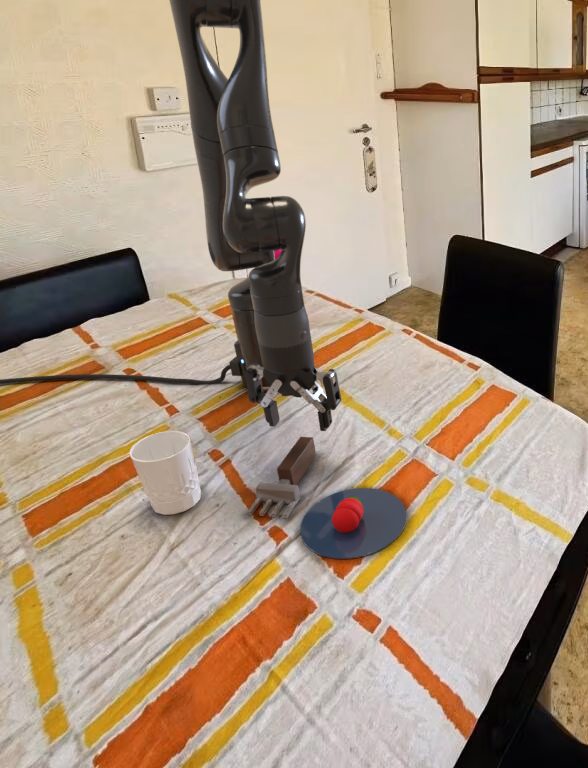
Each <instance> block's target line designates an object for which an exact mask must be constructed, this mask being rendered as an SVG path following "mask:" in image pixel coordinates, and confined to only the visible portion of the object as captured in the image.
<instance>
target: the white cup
mask: <svg viewBox="0 0 588 768" xmlns="http://www.w3.org/2000/svg"><path fill="white" fill-rule="evenodd" d="M129 457H130V460H131V462H132V465H133V467H134V469H135V472H136V474H137V476H138V479H139V481H140V484H141V487H142V489H143V491H144V493H145V495H146V497H147V499H148V500H149V501H148V502H149V503H150V506H151V508H152V509H153V511H154V512H155V513H156V514H160V515H163V516H167V515H177V514H180V513H183V512H185V511H188V510H189V509H191V508H193V507H194V506H196V505H197V504H198V502H199V501H200V500H201V496H202V490H201V485H200V481H199V479H200V477H199V473H198V468H197V463H196V458H195V453H194V449H193V444H192V440H191V436H190V435H189V434H188V433H186V432H184V431H181V430H165V431H160V432H156V433H153V434H149V435H147V436H145V437H143V438H141V439H139V440H138V441H136V442H135V443H134V444H133V445H132V446H131V447H130V449H129Z"/></svg>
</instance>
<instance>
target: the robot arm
mask: <svg viewBox="0 0 588 768" xmlns="http://www.w3.org/2000/svg"><path fill="white" fill-rule="evenodd" d="M168 1H169V5H170V9H171V14H172V18H173V23H174V28H175V33H176V37H177V42H178V47H179V52H180V58H181V61H182V66H183V73H184V78H185V79H184V80H185V86H186V94H187V102H188V111H189V120H190V127H191V128H190V129H191V134H192V140H193V147H194V152H195V157H196V163H197V167H198V172H199V177H200V184H201V188H202V196H203V207H204V208H203V209H204V222H205V235H206V243H207V248H208V253H209V256H210V259H211V261H212V263H213V265H214V266H215V268H216V269H217V270H219V271H221V272H236V271H243V270H249V269H251V270H250V271H249V272H248V275H247V277H246V278H244V279H243V280H241V281H240V282H237V283H236V284H234V285H233V286H232V287H230V289H229V290H228V292H227V297H228V302H229V307H230V312H231V316H232V321H233V325H234V329H235V334H236V339H237V340H236V341H235V342H234V343H233V348H234V351H235V357H234V358H232V359H231V360H230V361H229V362H228V365H226V366H224V368H223V369H222V370H221V372H220V376H219V377H218V378H216V379H211V380H199V379H193V378H192V379H191V378H175V377H174V378H173V377H162V376H152V375H151V376H150V375H137V374H136V375H135V374H134V375H133V374H106V373H103V374H102V373H99V374H98V373H93V374H91V373H89V374H88V373H87V374H86V373H85V374H83V373H82V374H59V375H58V374H57V375H56V374H55V375H39V376H26V377H25V376H24V377H14V378H1V379H0V385H4V384H16V383H27V382H41V381H43V382H45V381H57V380H59V381H61V380H93V379H95V380H103V379H104V380H128V381H129V380H130V381H131V380H132V381H146V382H147V381H148V382H160V383H169V384H170V383H171V384H187V385H188V384H190V385H196V386H197V385H198V386H199V385H201V386H202V385H203V386H204V385H217V384H220V383H221V382H223V381H224V380H225V379H226V376H227V372H229V371H230V372H231V376H233V377H240V379H241V383H242V386H243V387H245V388H246V390H247V396H248V401H249V402H250V403H252V404H255V403H258V404H260V407H262V408H263V413H264V418H265V422H266V423H267V424H268V425H269V427H273V428H274V427H277V425H278V424H279V423H280V420H281V419H280V413H279V408H278V407H279V406H278V403H277V400H274V399H275V398H276V397H277V395H278V394H280V395H281V397H291V396H292V397H295V398H300V399H301V398H303V399H304V400H305V402H307V403H308V404H312V406H313V407H315V409H316V410H317V416H318V417H317V418H318V424H319V430H320V431H321V432H326V431H327V430H328V429H329V428H330V427H331V425H332V424H333V417H332V411H335V410H336V409H337V407H338V406H339V405H340V403H341V402H342V395H341V389H340V385H339V380H338V375H337V371H336V369H334V368H330V369H328V371H318V369H317V368H316V366H315V354H314V348H313V347H314V346H313V342H312V341H313V340H312V334H311V328H310V320H309V316H308V312H307V310H306V305H305V299H304V293H303V287H302V286H303V285H302V277H301V264H302V255H303V246H304V244H305V243H304V241H305V237H306V236H305V235H306V226H307V222H306V215H305V212H304V210H303V207H302V206H301V204H300V203H299V202H298V201H297V200H296V199H295V198H294V197H292V196H289V195H277V196H264V197H250V198H247V194H248V192H249V191H250V190H251V189H253V188H256V187H258V186H261V185H264V184H267V183H270V182H272V181H275V180H276V179H278V177H280V175H281V171H282V170H281V169H282V168H281V166H282V165H281V160H280V154H279V150H278V145H277V141H276V140H277V139H276V134H275V129H274V125H273V119H272V113H271V107H270V106H271V105H270V98H269V97H270V95H269V86H268V85H269V84H268V68H267V58H266V57H267V56H266V54H267V53H266V43H265V32H264V23H263V13H262V12H263V11H262V4H261V3H262V2H261V0H168ZM202 28H217V29H218V28H220V29H238V30H239V49H238V53H237V57H236V60H235V63H234V66H233V69H232V70H231V72H230V75H229V78H228V77H227V76H226V75H225V73H224V72H223V71H222V69H221V68H220V66H219V64H218V63H217V62H216V60H215V59H214V57H213V55H212V54H211V51H210V50H209V48H208V46H207V44H206V43H205V40H204V38H203V36H202V33H201V29H202ZM279 249H280V250H282V251H281V253H280V255H279V257H278V258H277V259H275V255H274V250H279ZM317 381H319V382H320V384H319V383H318V382H317ZM322 387H324V389H323V388H322ZM310 390H312V393H311V391H310ZM324 392H325V393H324Z"/></svg>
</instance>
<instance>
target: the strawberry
mask: <svg viewBox="0 0 588 768" xmlns="http://www.w3.org/2000/svg"><path fill="white" fill-rule="evenodd" d="M362 516H363V506H362V501H361V500H360V499H359V498H358V497H355V496H350V497H348V498H346V499H344V500H342V501H341V502H340V503H339V504H338V506H337V508H336V510H335V511H334V513H333V516H332V523H333V526H334V527H335V529H336V530H338V531H339V532H342V533H348V532H351V531H353V530H354V529H356V527H357V526H358V524H359V522H360V520H361V518H362Z"/></svg>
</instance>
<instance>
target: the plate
mask: <svg viewBox="0 0 588 768" xmlns="http://www.w3.org/2000/svg"><path fill="white" fill-rule="evenodd" d="M350 496H355V497H358V498H359V499H360V500H361V501H362V506H363V516H362V518H361V520H360V522H359V524H358V526H357V527H356V529H354V530H353V531H351V532H348V533H342V532H339V531H338V530H336V529H335V527H334V526H333V523H332V516H333V513H334V511H335V510H336V508H337V506H338V504H339V503H340V502H341V501H342V500H344V499H346V498H348V497H350ZM407 518H408V514H407V510H406V507H405V505H404V504H403V502H402V501H401V500H400V499H399V498H398V497H397V496H396V495H394V494H392V493H391V492H388V491H386V490H382V489H378V488H372V487H357V488H356V487H355V488H350V489H344V490H340V491H338V492H334V493H331V494H330V495H327V496H325V497H324V498H321V499H320V500H318V501H317V502H316V503H315V504H313V505H312V506H311V507H310V508H309V509H308V510H307V512H305V515H304V516H303V518H302V520H301V523H300V525H299V533H300V537H301V541H302V542H303V544H304V545H305V546H306V548H307V549H308V550H310V551H311V552H313V553H314V554H317V555H318V556H321V557H325V558H328V559H334V560H352V559H353V560H354V559H359V558H364V557H367V556H370V555H373V554H375V553H376V554H377V553H378V552H380V551H382V550H384V549H385V548H387V547H389V546H390V545H391V544H392V543H394V542H395V541H396V540H397V539H398V538H399V537H400V536H401V534H402V533H403V531H404V530H405V528H406V524H407V520H408V519H407Z"/></svg>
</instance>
